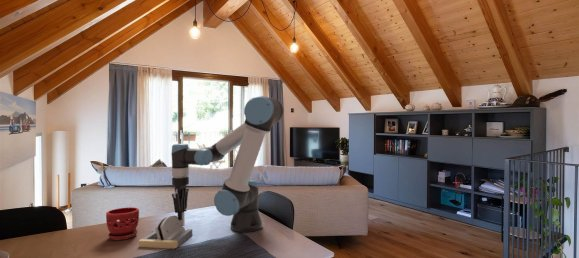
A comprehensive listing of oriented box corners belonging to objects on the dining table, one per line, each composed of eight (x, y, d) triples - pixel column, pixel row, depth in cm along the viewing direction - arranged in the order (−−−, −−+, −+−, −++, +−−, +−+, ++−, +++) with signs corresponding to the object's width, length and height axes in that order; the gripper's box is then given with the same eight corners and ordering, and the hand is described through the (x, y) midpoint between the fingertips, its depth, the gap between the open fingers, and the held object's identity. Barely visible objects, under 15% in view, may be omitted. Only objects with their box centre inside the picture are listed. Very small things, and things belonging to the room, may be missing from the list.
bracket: (192, 234, 146) (192, 229, 145) (175, 248, 130) (175, 242, 130) (159, 233, 147) (159, 227, 147) (138, 246, 132) (138, 240, 131)
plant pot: (144, 236, 144) (143, 209, 144) (112, 244, 134) (112, 216, 134) (132, 229, 153) (132, 204, 153) (102, 236, 143) (101, 210, 143)
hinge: (171, 244, 134) (162, 221, 134) (160, 248, 134) (152, 225, 134) (185, 230, 150) (178, 210, 150) (176, 234, 151) (169, 214, 151)
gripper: (179, 174, 158) (179, 221, 159) (166, 178, 145) (166, 230, 146) (193, 174, 157) (194, 221, 158) (181, 179, 144) (182, 230, 145)
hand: (181, 225), depth 152 cm, fingers closed
